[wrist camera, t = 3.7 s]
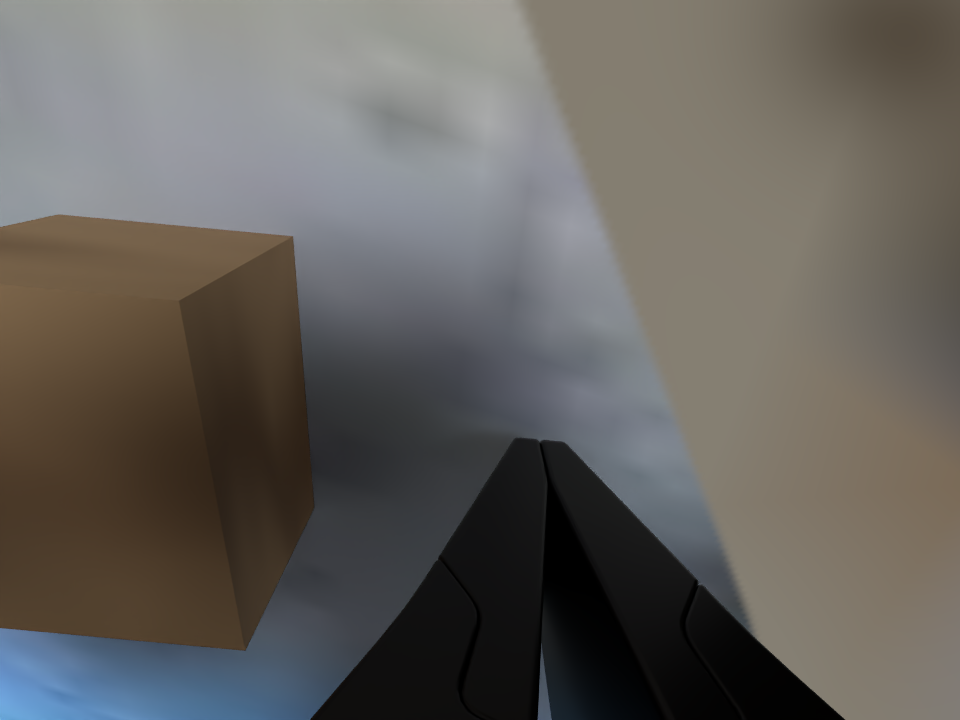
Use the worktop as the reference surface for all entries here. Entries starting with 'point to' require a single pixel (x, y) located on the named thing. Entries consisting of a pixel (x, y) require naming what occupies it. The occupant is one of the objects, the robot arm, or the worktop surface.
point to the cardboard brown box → (148, 429)
